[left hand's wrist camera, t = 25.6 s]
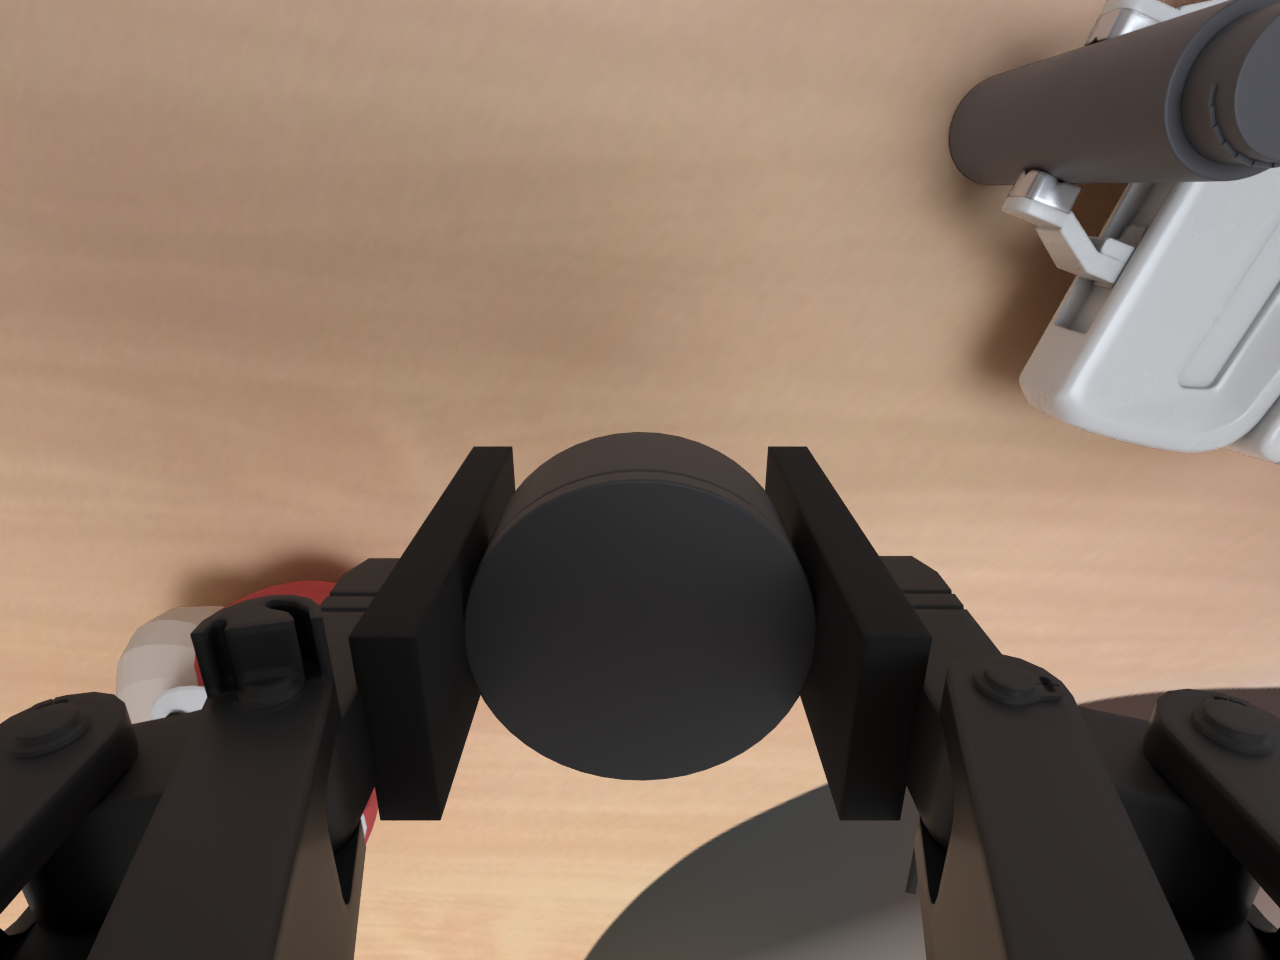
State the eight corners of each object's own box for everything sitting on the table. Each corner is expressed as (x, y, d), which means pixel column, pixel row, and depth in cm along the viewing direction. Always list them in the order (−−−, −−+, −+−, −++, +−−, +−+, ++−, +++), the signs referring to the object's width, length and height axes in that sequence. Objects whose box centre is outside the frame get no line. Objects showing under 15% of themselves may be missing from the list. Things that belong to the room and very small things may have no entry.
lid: (519, 397, 11) (494, 440, 9) (831, 470, 12) (870, 527, 10) (469, 664, 13) (439, 747, 11) (740, 718, 13) (757, 807, 11)
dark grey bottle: (997, 205, 33) (1290, 218, 18) (927, 143, 32) (1177, 101, 17) (1071, 118, 31) (1453, 54, 17) (1001, 49, 30) (1341, -82, 16)
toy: (-212, 815, 36) (237, 633, 28) (-34, 668, 45) (345, 498, 37) (75, 995, 44) (490, 893, 36) (178, 839, 52) (529, 730, 44)
